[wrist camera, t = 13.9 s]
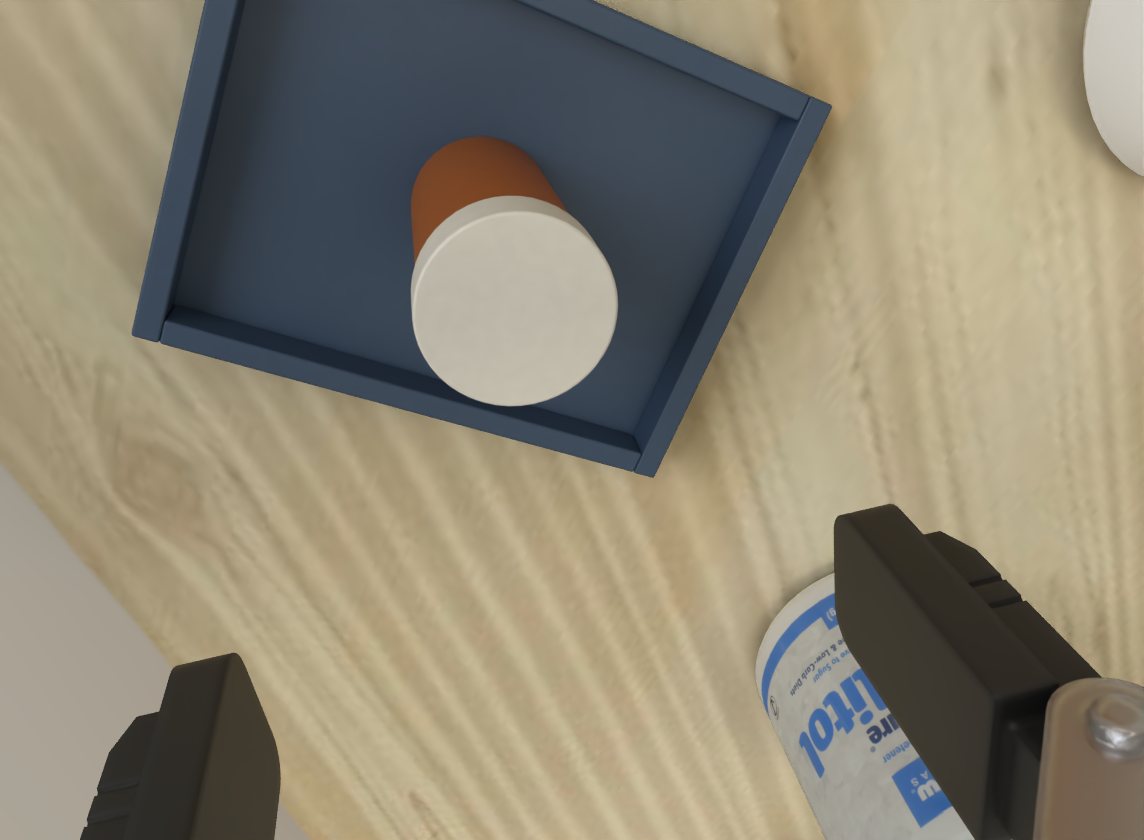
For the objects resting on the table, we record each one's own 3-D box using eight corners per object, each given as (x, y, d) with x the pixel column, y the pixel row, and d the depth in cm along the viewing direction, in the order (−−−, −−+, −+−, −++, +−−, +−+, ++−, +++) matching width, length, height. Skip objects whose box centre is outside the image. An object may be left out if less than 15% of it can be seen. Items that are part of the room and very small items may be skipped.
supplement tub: (837, 520, 38) (1062, 816, 26) (994, 596, 42) (1261, 890, 29) (705, 689, 42) (846, 1028, 29) (861, 746, 45) (1051, 1073, 32)
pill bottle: (386, 252, 30) (385, 376, 21) (432, 107, 28) (451, 181, 20) (524, 297, 31) (574, 429, 23) (577, 162, 29) (650, 251, 21)
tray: (146, 312, 30) (130, 336, 28) (249, -149, 25) (238, -156, 23) (640, 450, 35) (653, 478, 34) (806, 95, 30) (833, 105, 29)
